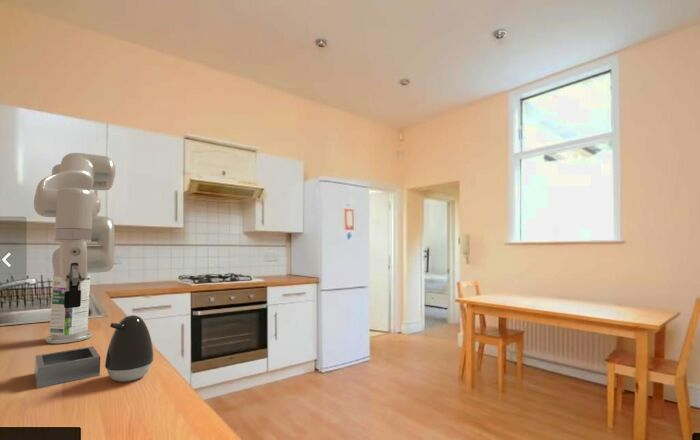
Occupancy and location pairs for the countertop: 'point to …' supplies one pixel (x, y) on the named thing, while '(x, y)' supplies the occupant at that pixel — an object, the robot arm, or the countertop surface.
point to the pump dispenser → (129, 350)
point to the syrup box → (68, 309)
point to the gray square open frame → (66, 366)
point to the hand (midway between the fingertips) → (70, 304)
